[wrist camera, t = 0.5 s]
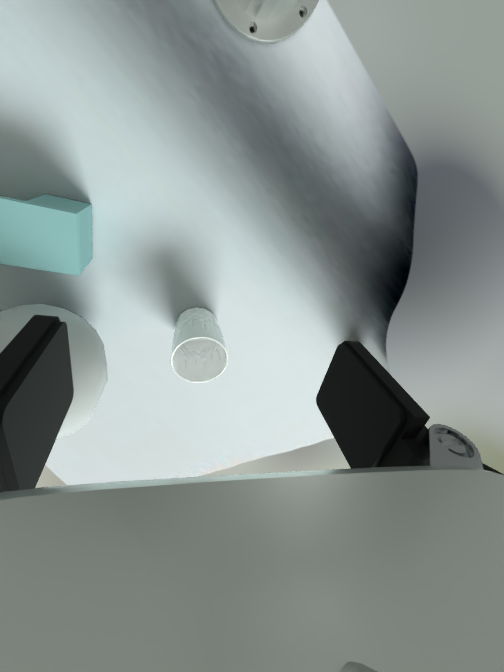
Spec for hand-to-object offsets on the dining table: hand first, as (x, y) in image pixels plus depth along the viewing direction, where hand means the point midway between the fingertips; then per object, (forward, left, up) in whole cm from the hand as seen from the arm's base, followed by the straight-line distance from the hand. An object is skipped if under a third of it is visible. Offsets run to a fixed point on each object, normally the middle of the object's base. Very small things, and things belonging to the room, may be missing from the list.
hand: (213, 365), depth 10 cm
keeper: (+6, -18, -35) cm, 40 cm away
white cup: (+18, +4, -35) cm, 40 cm away
